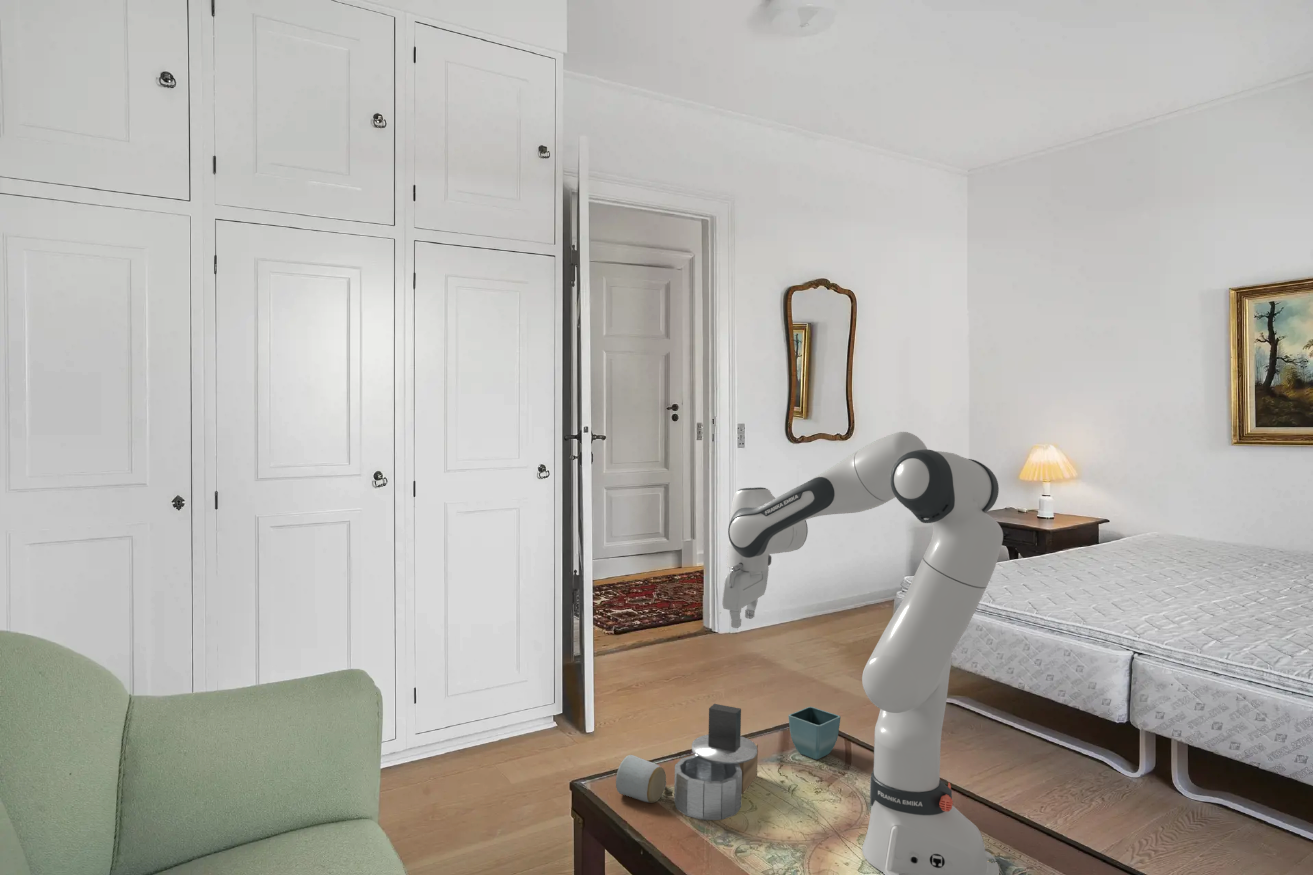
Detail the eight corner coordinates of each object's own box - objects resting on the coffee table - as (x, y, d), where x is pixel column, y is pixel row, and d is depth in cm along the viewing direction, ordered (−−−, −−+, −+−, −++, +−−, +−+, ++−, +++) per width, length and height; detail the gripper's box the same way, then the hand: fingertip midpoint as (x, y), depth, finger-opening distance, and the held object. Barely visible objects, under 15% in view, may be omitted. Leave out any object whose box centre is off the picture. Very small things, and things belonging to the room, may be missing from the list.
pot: (749, 796, 159) (749, 762, 159) (726, 825, 147) (727, 789, 147) (690, 782, 164) (690, 749, 164) (664, 809, 153) (664, 774, 152)
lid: (765, 744, 167) (766, 703, 167) (744, 769, 155) (745, 725, 154) (706, 732, 173) (707, 692, 173) (681, 755, 160) (682, 713, 160)
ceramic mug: (649, 810, 152) (650, 771, 152) (614, 799, 156) (615, 761, 156) (675, 789, 162) (676, 752, 161) (641, 780, 166) (642, 744, 166)
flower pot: (786, 753, 180) (787, 714, 180) (809, 742, 186) (810, 705, 186) (818, 765, 174) (819, 725, 173) (840, 754, 180) (841, 716, 179)
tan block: (757, 775, 168) (757, 744, 168) (743, 793, 160) (743, 760, 160) (713, 766, 172) (714, 735, 172) (697, 783, 164) (698, 750, 164)
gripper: (746, 569, 161) (741, 635, 161) (774, 555, 180) (769, 615, 180) (717, 565, 164) (712, 630, 164) (747, 552, 182) (743, 610, 183)
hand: (742, 622), depth 172 cm, fingers open, 8 cm apart
